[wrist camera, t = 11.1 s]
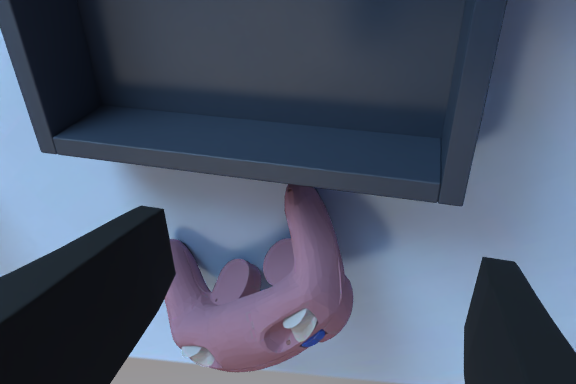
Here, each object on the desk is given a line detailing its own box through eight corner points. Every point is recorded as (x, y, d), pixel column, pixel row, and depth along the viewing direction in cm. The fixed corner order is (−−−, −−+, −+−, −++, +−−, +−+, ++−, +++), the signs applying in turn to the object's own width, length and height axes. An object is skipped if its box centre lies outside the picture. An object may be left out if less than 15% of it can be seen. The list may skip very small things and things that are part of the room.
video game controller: (214, 268, 28) (204, 393, 24) (153, 238, 25) (129, 374, 21) (358, 209, 23) (375, 353, 19) (302, 163, 20) (309, 321, 16)
